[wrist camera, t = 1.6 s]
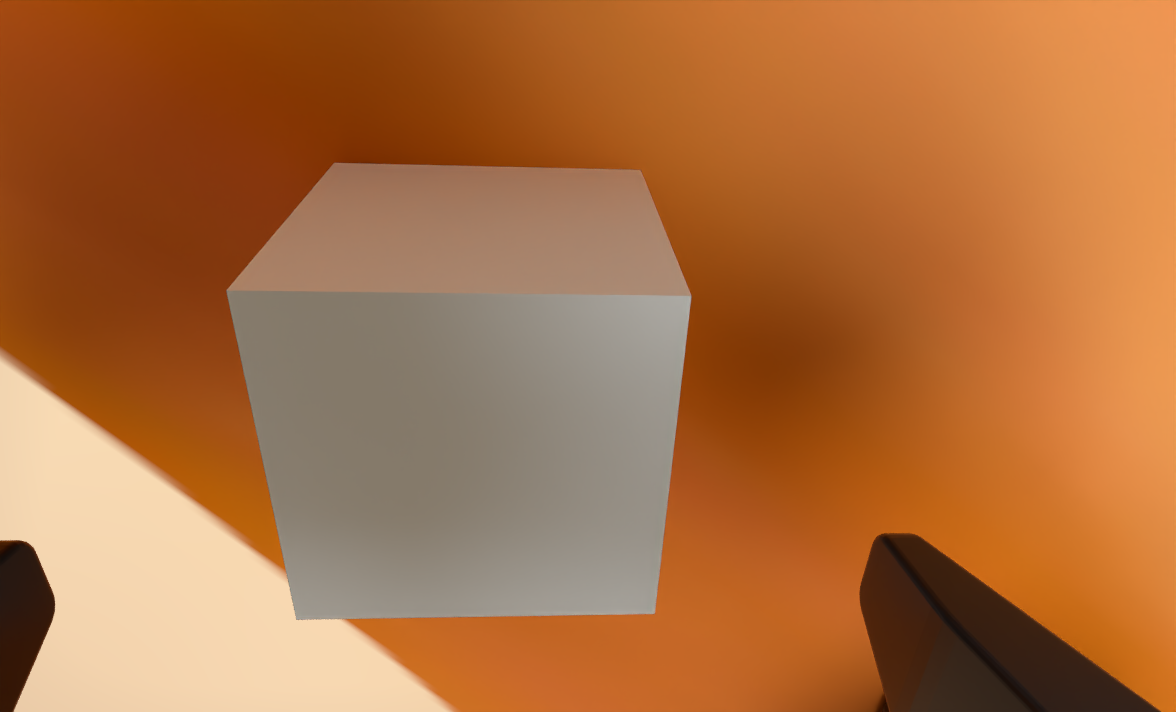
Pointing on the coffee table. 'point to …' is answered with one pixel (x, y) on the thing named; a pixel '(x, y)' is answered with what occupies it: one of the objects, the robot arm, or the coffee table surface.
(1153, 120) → the coffee table surface
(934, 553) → the robot arm
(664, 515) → the top block
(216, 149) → the coffee table surface
